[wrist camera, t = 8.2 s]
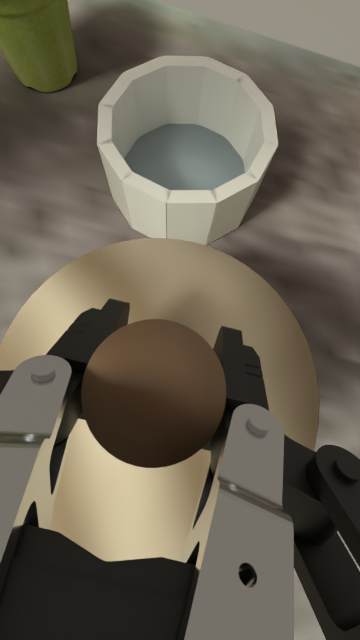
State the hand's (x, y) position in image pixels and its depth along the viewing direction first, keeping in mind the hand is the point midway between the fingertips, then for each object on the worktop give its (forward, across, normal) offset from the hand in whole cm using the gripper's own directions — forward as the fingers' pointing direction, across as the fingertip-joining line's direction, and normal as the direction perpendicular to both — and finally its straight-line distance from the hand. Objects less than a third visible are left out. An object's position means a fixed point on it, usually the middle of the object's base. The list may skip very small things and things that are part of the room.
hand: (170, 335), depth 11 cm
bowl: (+20, +2, -3) cm, 21 cm away
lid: (+1, 0, +4) cm, 5 cm away
